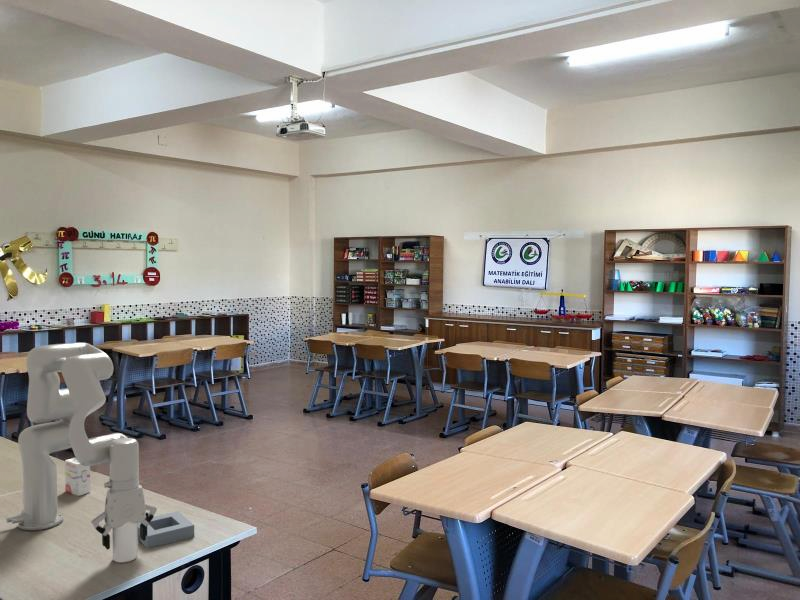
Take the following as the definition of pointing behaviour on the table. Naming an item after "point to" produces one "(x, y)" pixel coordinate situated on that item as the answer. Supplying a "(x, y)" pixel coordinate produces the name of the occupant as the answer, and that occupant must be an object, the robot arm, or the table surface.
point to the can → (125, 543)
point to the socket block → (167, 529)
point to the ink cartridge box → (77, 477)
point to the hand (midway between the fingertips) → (125, 543)
